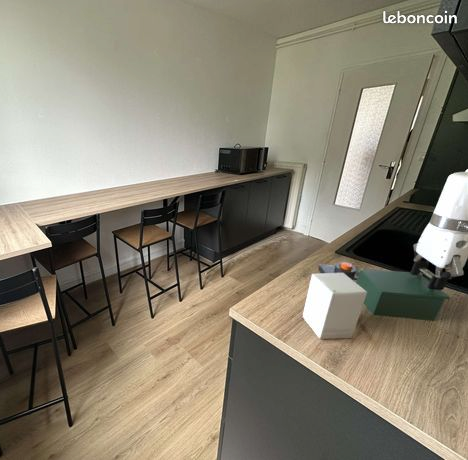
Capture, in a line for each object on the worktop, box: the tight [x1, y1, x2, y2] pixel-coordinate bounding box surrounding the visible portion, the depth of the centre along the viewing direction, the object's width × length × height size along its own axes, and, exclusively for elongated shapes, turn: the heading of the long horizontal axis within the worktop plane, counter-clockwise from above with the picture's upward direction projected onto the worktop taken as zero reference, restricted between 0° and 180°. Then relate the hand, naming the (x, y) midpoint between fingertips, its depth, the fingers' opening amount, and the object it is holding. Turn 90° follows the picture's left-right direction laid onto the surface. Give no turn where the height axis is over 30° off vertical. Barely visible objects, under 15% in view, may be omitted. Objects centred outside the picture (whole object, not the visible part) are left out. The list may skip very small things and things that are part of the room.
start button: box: [340, 261, 353, 270], centre depth 90 cm, size 3×3×2 cm
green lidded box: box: [355, 271, 446, 322], centre depth 74 cm, size 15×12×9 cm
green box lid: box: [359, 266, 451, 300], centre depth 71 cm, size 15×12×5 cm
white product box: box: [302, 273, 367, 340], centre depth 67 cm, size 9×9×15 cm
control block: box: [317, 262, 358, 281], centre depth 91 cm, size 10×8×4 cm
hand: (425, 281), depth 70 cm, fingers closed on green box lid, 6 cm apart
